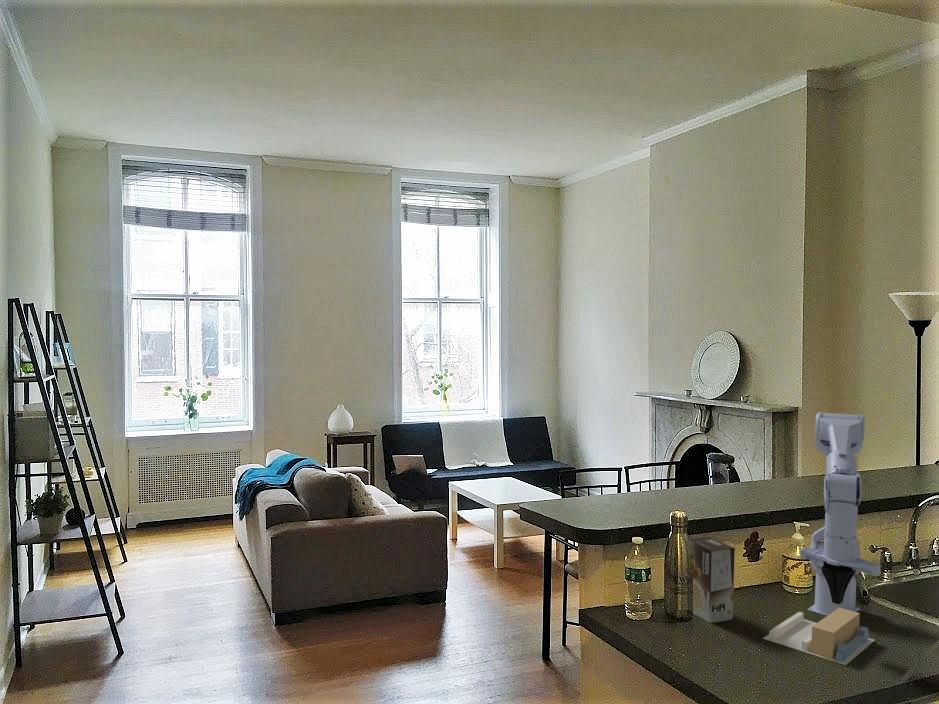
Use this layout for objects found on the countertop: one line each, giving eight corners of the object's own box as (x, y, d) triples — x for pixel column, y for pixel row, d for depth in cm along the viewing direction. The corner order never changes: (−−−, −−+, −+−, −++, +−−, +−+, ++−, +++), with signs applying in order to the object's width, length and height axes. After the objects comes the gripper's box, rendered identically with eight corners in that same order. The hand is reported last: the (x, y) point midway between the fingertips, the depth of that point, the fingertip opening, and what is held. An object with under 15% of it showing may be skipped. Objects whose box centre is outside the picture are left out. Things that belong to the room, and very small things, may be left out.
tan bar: (838, 631, 161) (839, 607, 161) (858, 637, 158) (859, 613, 158) (811, 651, 151) (812, 626, 151) (832, 658, 148) (833, 633, 148)
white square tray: (795, 619, 168) (796, 604, 168) (874, 642, 157) (875, 627, 157) (762, 641, 157) (763, 625, 157) (845, 668, 146) (846, 651, 146)
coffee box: (734, 621, 167) (737, 548, 166) (709, 625, 164) (712, 550, 164) (707, 606, 175) (709, 535, 174) (683, 609, 173) (685, 538, 172)
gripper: (795, 530, 156) (792, 597, 157) (872, 547, 146) (869, 618, 146) (809, 524, 161) (806, 588, 162) (885, 539, 150) (882, 608, 151)
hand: (837, 602), depth 154 cm, fingers closed
